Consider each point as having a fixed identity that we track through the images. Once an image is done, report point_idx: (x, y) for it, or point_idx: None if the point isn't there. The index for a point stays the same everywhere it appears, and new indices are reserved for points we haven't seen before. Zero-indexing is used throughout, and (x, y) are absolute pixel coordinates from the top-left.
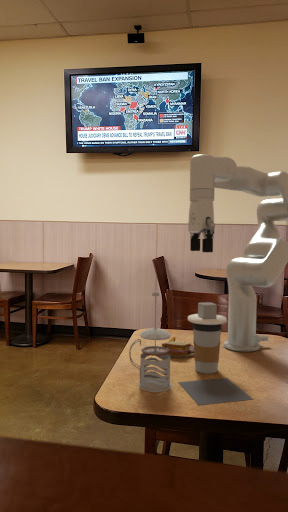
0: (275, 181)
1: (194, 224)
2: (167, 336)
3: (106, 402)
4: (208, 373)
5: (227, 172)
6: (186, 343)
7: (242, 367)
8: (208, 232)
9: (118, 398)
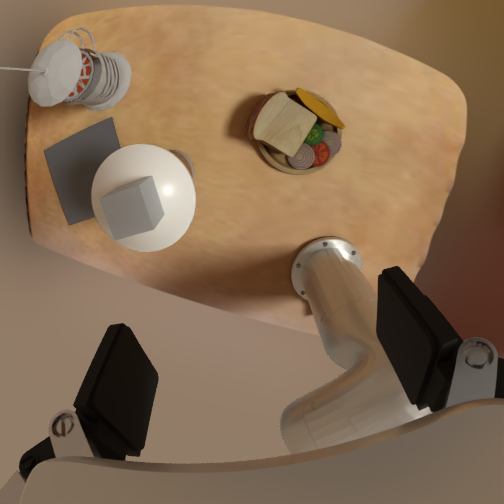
0: None
1: None
2: (36, 101)
3: (58, 30)
4: None
5: None
6: (286, 146)
7: (200, 241)
8: (24, 455)
9: None
